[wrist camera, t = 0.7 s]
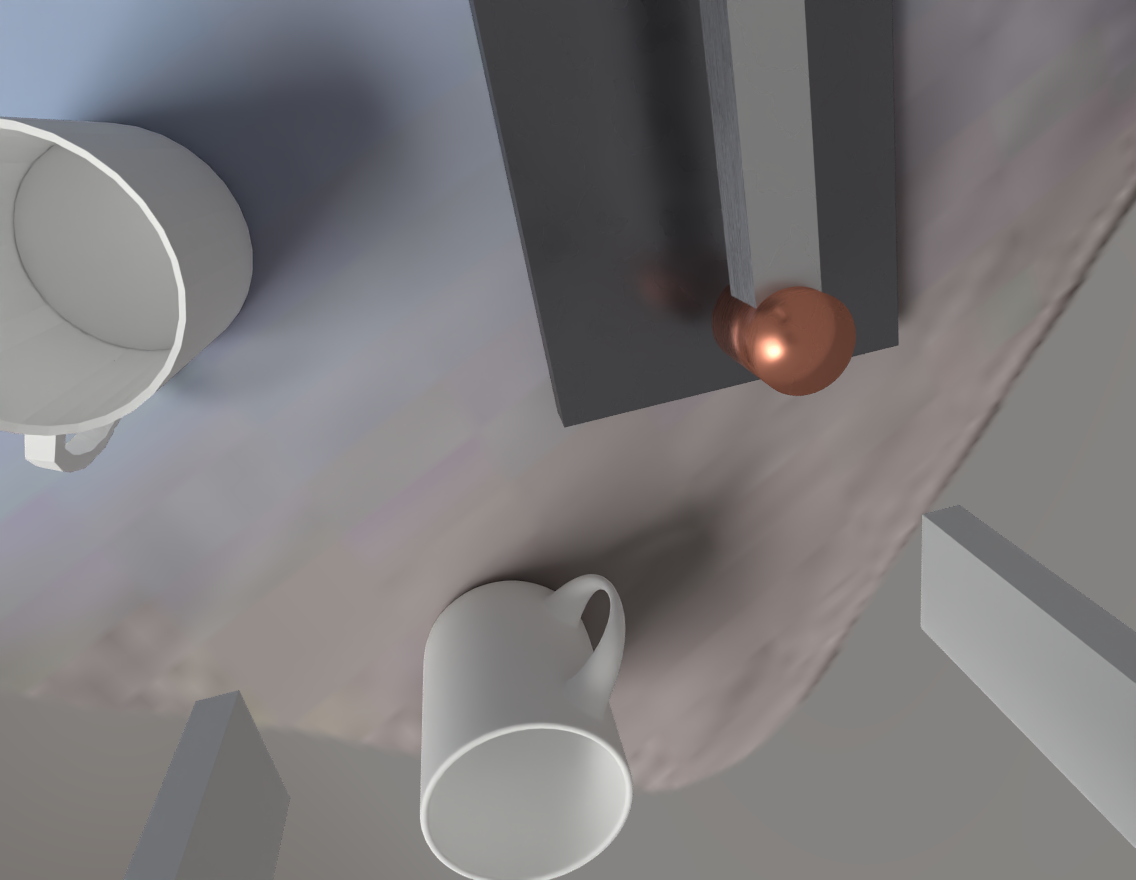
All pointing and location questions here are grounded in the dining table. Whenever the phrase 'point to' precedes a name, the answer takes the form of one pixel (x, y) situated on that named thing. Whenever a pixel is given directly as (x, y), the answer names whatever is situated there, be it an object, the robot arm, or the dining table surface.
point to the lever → (770, 199)
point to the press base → (671, 186)
